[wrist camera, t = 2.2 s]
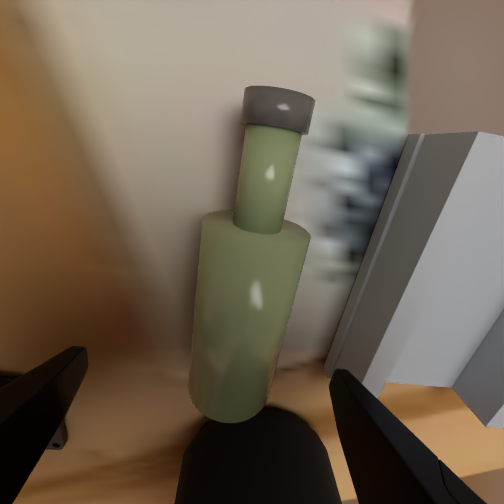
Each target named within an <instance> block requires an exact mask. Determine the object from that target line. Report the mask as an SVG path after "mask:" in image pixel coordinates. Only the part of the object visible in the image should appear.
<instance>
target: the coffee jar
mask: <svg viewBox="0 0 504 504" xmlns="http://www.w3.org/2000/svg"><path fill="white" fill-rule="evenodd" d="M175 504H342V502H341V498H340V495H339V491H338V488H337V484H336V481H335V477H334V474H333V470H332V467H331V463H330V460H329V456H328V453H327V450H326V448H325V446H324V445H323V443H322V441H321V440H320V438H319V436H318V435H317V433H316V432H315V431H314V430H312V429H311V428H310V427H309V426H308V424H307V423H306V422H305V421H303V420H302V419H301V418H299V417H298V416H296V415H295V414H293V413H290V412H287V411H284V410H281V409H278V408H271V407H263V408H262V409H261V410H260V412H259V413H257V414H256V415H255V416H253V417H252V418H250V419H248V420H245V421H242V422H238V423H223V422H218V421H215V420H213V419H212V420H211V421H210V422H208V423H207V424H205V425H204V426H203V427H202V429H201V430H200V432H199V433H198V434H197V435H196V436H195V438H194V439H193V440H192V442H191V443H190V445H189V446H188V448H187V449H186V451H185V453H184V455H183V461H182V466H181V472H180V477H179V482H178V488H177V493H176V499H175Z"/></svg>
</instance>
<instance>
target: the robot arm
mask: <svg viewBox="0 0 504 504" xmlns="http://www.w3.org/2000/svg"><path fill="white" fill-rule="evenodd" d="M87 370H88V356H87V349H86V348H85V347H82V346H72V347H69V348H68V349H66V350H64V351H63V352H61V353H59V354H58V355H56V356H54V357H53V358H51V359H49V360H48V361H46V362H44V363H43V364H41V365H39V366H38V367H36V368H34V369H33V370H31V371H29V372H28V373H26V374H24V375H22V376H21V377H12V376H0V504H13V502H14V500H15V499H16V497H17V495H18V494H19V492H20V491H21V489H22V487H23V486H24V484H25V482H26V481H27V479H28V477H29V476H30V474H31V472H32V471H33V469H34V467H35V466H36V464H37V462H38V461H39V459H40V457H41V456H42V454H43V452H44V451H45V449H53V450H60V449H62V448H63V447H64V446H65V444H66V442H67V435H66V430H65V425H64V420H63V419H64V417H65V415H66V413H67V411H68V409H69V407H70V405H71V403H72V401H73V399H74V397H75V395H76V393H77V391H78V389H79V387H80V385H81V382H82V380H83V378H84V376H85V374H86V372H87ZM329 390H330V395H331V400H332V405H333V411H334V416H335V421H336V426H337V430H338V434H339V438H340V442H341V445H342V448H343V452H344V455H345V458H346V462H347V465H348V468H349V472H350V475H351V478H352V482H353V485H354V489H355V492H356V495H357V499H358V502H359V504H487V503H486V502H484V500H482V499H481V498H480V497H479V496H478V495H477V494H476V493H474V491H472V490H471V489H470V488H469V487H468V486H467V485H466V484H465V483H464V482H463V481H462V480H461V479H460V478H459V477H458V476H457V475H455V474H454V473H453V472H452V471H451V470H450V469H449V468H448V467H447V466H446V465H445V464H444V463H443V462H442V461H441V460H438V457H437V456H436V455H435V454H434V453H433V452H432V451H431V450H430V449H429V448H428V447H426V446H425V445H424V444H423V443H422V442H421V441H420V440H419V439H418V438H417V437H416V436H415V435H414V434H413V433H412V432H411V431H410V430H409V429H408V428H407V427H406V426H405V425H404V424H403V423H402V422H401V421H400V420H399V419H398V418H397V417H396V416H395V415H394V414H393V413H392V412H390V411H389V410H388V409H387V408H386V407H385V406H384V405H383V404H382V403H381V402H380V401H379V400H378V399H377V398H376V397H375V396H374V395H373V394H372V393H371V392H370V391H369V390H368V389H367V388H366V387H365V386H364V385H363V384H362V383H361V382H360V381H359V380H358V379H357V378H356V377H354V376H353V375H352V374H351V373H350V372H349V371H348V370H347V369H341V368H336V369H335V371H334V373H333V376H332V378H331V381H330V384H329Z"/></svg>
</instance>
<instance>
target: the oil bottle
mask: <svg viewBox="0 0 504 504" xmlns="http://www.w3.org/2000/svg"><path fill="white" fill-rule="evenodd" d="M314 105H315V100H314V99H313V98H312V97H310V96H308V95H306V94H303V93H300V92H297V91H293V90H289V89H284V88H278V87H270V86H249V87H246V88H245V91H244V98H243V106H242V114H241V122H240V123H241V124H244V125H246V128H245V135H244V143H243V150H242V157H241V165H240V172H239V179H238V187H237V194H236V202H235V209H234V211H233V210H230V211H217V212H212V213H209V214H207V215H205V216H204V217H203V219H202V230H201V241H200V253H199V264H198V276H197V287H196V299H195V310H194V322H193V333H192V345H191V357H190V368H189V380H188V390H189V395H190V398H191V400H192V402H193V404H194V405H195V407H196V408H197V409H198V410H199V411H200V412H201V413H202V414H204V415H205V416H207V417H208V418H210V419H213V420H215V421H218V422H223V423H238V422H242V421H245V420H248V419H250V418H252V417H253V416H255V415H256V414H257V413H259V412H260V410H261V409H262V408H263V407H264V405H265V403H266V401H267V399H268V395H269V391H270V387H271V384H272V380H273V376H274V372H275V369H276V365H277V361H278V357H279V354H280V350H281V346H282V343H283V339H284V335H285V331H286V328H287V324H288V320H289V316H290V313H291V309H292V305H293V301H294V298H295V294H296V290H297V287H298V283H299V279H300V275H301V272H302V268H303V264H304V260H305V257H306V253H307V249H308V246H309V242H310V238H311V237H310V234H309V233H308V232H307V231H306V230H305V229H304V228H302V227H301V226H299V225H297V224H295V223H292V222H290V221H287V220H284V215H285V210H286V205H287V201H288V196H289V191H290V187H291V182H292V178H293V173H294V168H295V164H296V159H297V155H298V150H299V145H300V141H301V136H302V135H308V131H309V127H310V122H311V118H312V113H313V109H314Z"/></svg>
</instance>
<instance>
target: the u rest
mask: <svg viewBox="0 0 504 504" xmlns="http://www.w3.org/2000/svg"><path fill="white" fill-rule="evenodd" d="M336 368H341V369H347V370H348V371H349V372H350V373H351V374H352V375H353V376H354V377H356V378H357V379H358V380H359V381H360V382H361V383H362V384H363V385H364V386H365V387H366V388H367V389H368V390H369V391H370V392H371V393H372V394H373V395H374V396H375V397H376V398H377V399H378V397H379V395H380V393H381V391H382V389H383V387H384V385H385V383H386V382H389V383H401V384H413V385H425V386H437V387H450V388H452V389H453V390H454V391H455V392H456V393H457V395H458V396H459V397H460V398H461V399H462V400H463V402H464V403H465V404H466V405H467V406H468V407H469V408H470V410H471V411H472V412H473V413H474V414H475V415H476V416H477V418H478V419H479V420H480V421H481V422H482V423H483V424H484V426H485V427H495V428H504V137H503V136H499V135H494V134H489V133H483V132H462V133H445V134H428V135H425V134H410V135H409V136H408V138H407V141H406V144H405V147H404V149H403V152H402V155H401V157H400V160H399V163H398V166H397V168H396V171H395V174H394V177H393V179H392V182H391V185H390V187H389V190H388V193H387V196H386V198H385V201H384V204H383V206H382V209H381V212H380V215H379V217H378V220H377V223H376V226H375V228H374V231H373V234H372V236H371V239H370V242H369V245H368V247H367V250H366V253H365V255H364V258H363V261H362V264H361V266H360V269H359V272H358V275H357V277H356V280H355V283H354V285H353V288H352V291H351V294H350V296H349V299H348V302H347V304H346V307H345V310H344V313H343V315H342V318H341V321H340V323H339V326H338V329H337V332H336V334H335V337H334V340H333V343H332V345H331V348H330V351H329V353H328V356H327V359H326V362H325V364H324V370H325V372H326V375H327V377H328V378H332V376H333V373H334V371H335V369H336Z"/></svg>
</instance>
